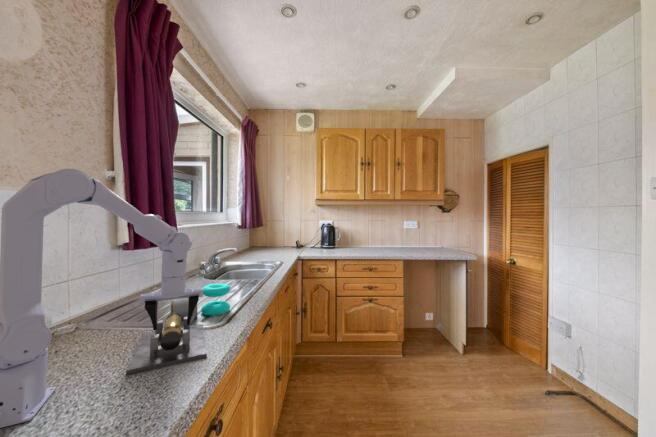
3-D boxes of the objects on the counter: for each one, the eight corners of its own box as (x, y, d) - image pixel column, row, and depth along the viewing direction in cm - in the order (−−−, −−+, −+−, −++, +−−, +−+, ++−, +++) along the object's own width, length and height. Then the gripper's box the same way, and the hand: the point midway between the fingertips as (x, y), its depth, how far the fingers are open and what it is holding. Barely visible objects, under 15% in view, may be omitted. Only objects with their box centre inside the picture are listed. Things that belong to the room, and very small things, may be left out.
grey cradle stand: (206, 357, 63) (207, 335, 63) (125, 375, 55) (126, 349, 55) (202, 327, 81) (203, 310, 81) (141, 337, 74) (142, 318, 74)
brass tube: (179, 348, 62) (181, 331, 63) (159, 351, 60) (161, 333, 61) (181, 326, 76) (182, 312, 76) (165, 328, 74) (166, 313, 74)
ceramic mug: (170, 317, 89) (171, 296, 89) (196, 313, 93) (197, 293, 93) (169, 329, 80) (170, 304, 80) (198, 324, 84) (199, 301, 84)
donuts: (228, 288, 92) (198, 289, 90) (227, 315, 92) (197, 317, 90) (232, 282, 102) (205, 283, 100) (231, 307, 101) (205, 308, 99)
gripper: (202, 271, 76) (201, 316, 75) (143, 275, 69) (141, 325, 68) (204, 275, 70) (202, 325, 69) (139, 280, 63) (137, 335, 62)
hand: (172, 326), depth 68 cm, fingers open, 7 cm apart
